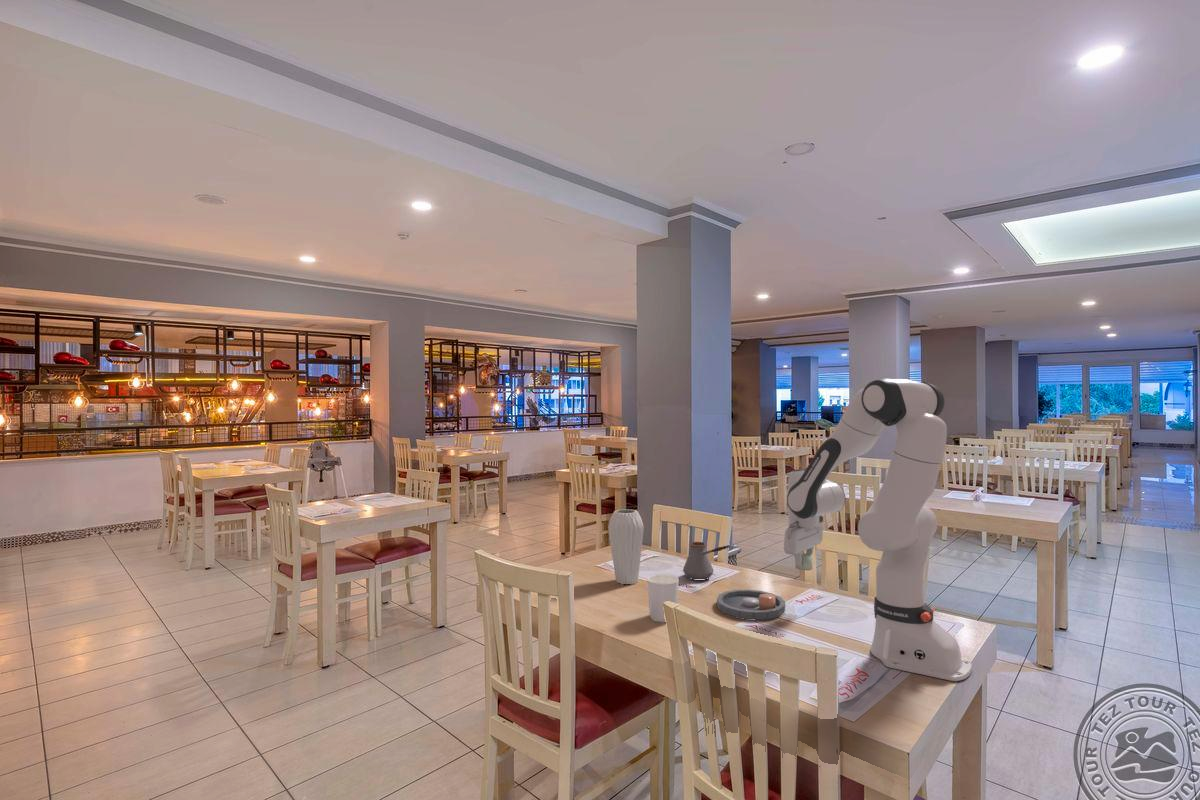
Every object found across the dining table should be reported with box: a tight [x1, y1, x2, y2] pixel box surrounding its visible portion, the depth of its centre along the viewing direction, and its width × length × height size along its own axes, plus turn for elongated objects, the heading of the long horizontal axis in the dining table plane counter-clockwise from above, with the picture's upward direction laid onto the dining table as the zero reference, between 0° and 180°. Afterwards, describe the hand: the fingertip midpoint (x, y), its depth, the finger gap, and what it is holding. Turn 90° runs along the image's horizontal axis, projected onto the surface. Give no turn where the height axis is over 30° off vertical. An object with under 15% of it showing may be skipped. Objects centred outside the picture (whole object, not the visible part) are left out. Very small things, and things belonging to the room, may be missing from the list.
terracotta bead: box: [759, 594, 775, 610], centre depth 178 cm, size 5×5×4 cm
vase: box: [607, 508, 644, 585], centre depth 212 cm, size 13×13×26 cm
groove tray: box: [716, 588, 786, 621], centre depth 182 cm, size 21×21×2 cm
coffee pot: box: [682, 541, 733, 580], centre depth 211 cm, size 21×12×15 cm, turn 38°
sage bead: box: [794, 552, 813, 571], centre depth 179 cm, size 5×5×4 cm
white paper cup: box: [646, 573, 680, 623], centre depth 176 cm, size 10×10×12 cm
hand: (803, 563), depth 179 cm, fingers closed on sage bead, 5 cm apart
